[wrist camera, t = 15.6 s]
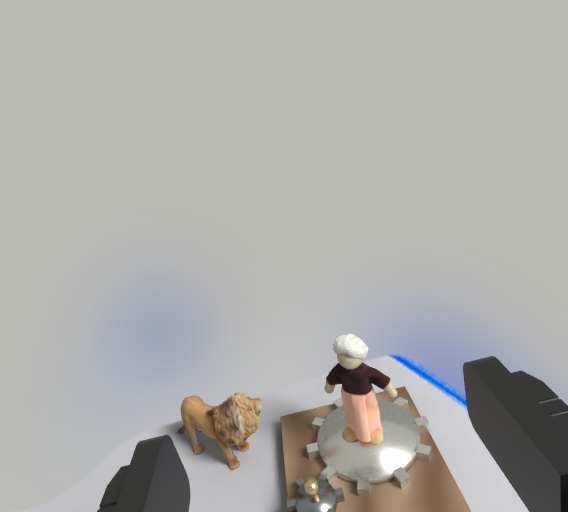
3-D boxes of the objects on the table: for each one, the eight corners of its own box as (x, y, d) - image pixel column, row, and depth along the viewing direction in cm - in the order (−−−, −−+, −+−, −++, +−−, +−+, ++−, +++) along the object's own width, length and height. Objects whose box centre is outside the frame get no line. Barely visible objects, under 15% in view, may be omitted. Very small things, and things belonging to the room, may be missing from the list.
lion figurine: (281, 442, 51) (262, 383, 48) (259, 479, 47) (237, 417, 44) (190, 421, 58) (169, 369, 55) (164, 452, 54) (140, 397, 51)
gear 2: (317, 509, 40) (315, 502, 40) (302, 413, 52) (300, 407, 52) (455, 476, 40) (454, 469, 39) (407, 388, 52) (406, 381, 52)
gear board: (296, 564, 37) (292, 552, 37) (283, 425, 53) (280, 416, 53) (472, 522, 37) (470, 510, 37) (406, 395, 53) (404, 386, 53)
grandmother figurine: (331, 448, 45) (306, 350, 41) (335, 421, 48) (312, 328, 44) (405, 448, 43) (387, 344, 38) (404, 420, 46) (386, 322, 42)
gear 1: (291, 536, 38) (283, 514, 37) (287, 488, 43) (280, 467, 42) (350, 522, 38) (344, 499, 37) (339, 475, 43) (333, 454, 42)
